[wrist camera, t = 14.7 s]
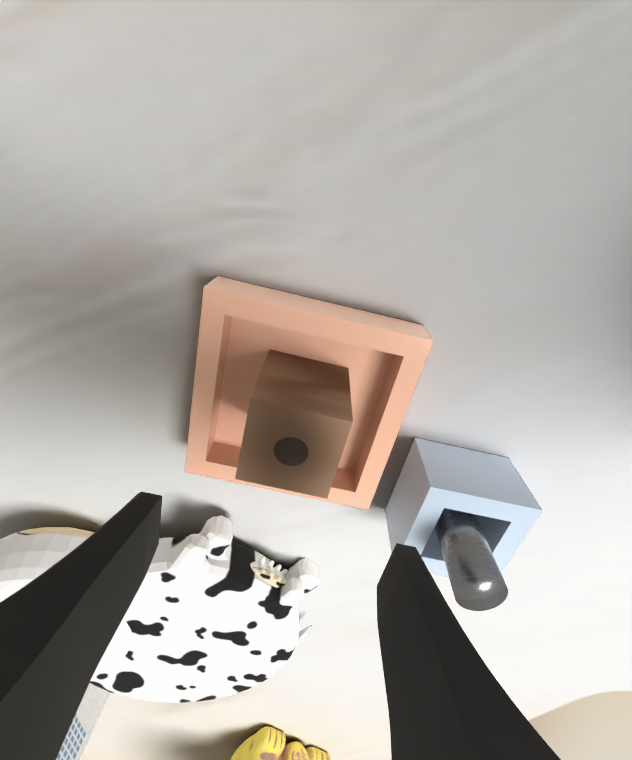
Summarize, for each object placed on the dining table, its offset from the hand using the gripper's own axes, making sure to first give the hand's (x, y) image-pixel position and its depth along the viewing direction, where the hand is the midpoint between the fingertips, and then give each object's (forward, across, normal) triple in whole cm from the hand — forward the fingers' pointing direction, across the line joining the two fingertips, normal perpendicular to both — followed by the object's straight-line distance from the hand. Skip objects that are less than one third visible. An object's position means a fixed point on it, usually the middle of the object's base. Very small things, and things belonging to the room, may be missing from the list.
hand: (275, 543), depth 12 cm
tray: (+10, 0, 0) cm, 10 cm away
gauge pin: (+10, -9, +4) cm, 14 cm away
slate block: (+10, -10, +4) cm, 14 cm away
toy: (+10, +7, +18) cm, 22 cm away
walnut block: (+9, 0, 0) cm, 9 cm away
